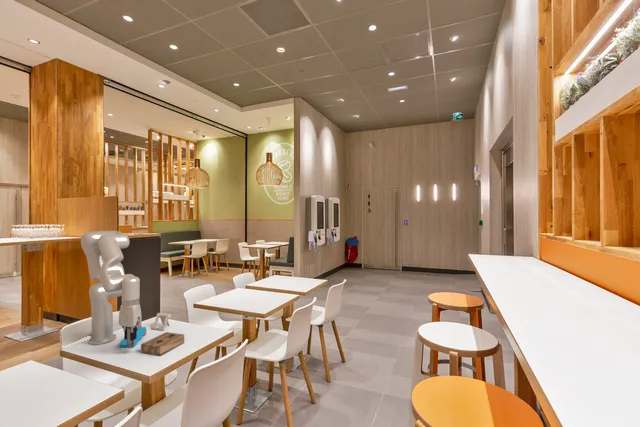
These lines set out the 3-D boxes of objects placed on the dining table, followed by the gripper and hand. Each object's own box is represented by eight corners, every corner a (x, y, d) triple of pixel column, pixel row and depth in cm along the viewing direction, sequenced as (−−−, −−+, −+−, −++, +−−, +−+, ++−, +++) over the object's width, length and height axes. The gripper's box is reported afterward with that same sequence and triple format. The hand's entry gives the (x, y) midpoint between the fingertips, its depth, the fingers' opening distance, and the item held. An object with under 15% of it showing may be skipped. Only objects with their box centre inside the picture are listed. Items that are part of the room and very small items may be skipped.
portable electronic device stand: (150, 329, 184) (150, 315, 184) (161, 325, 191) (160, 311, 191) (162, 331, 181) (162, 317, 181) (172, 326, 189) (172, 312, 189)
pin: (125, 347, 151) (125, 327, 151) (130, 344, 154) (130, 324, 154) (130, 348, 151) (130, 327, 150) (135, 345, 153) (135, 325, 153)
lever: (134, 355, 160) (151, 333, 177) (132, 344, 158) (149, 322, 176) (120, 356, 160) (138, 333, 177) (118, 344, 158) (136, 323, 175)
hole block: (141, 353, 153) (141, 343, 153) (166, 340, 168) (166, 332, 168) (160, 356, 149) (160, 346, 149) (184, 342, 164) (184, 334, 164)
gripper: (111, 302, 151) (110, 339, 151) (136, 306, 146) (136, 344, 146) (125, 298, 158) (124, 334, 158) (150, 301, 153) (149, 338, 153)
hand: (130, 338), depth 152 cm, fingers closed on pin, 3 cm apart
